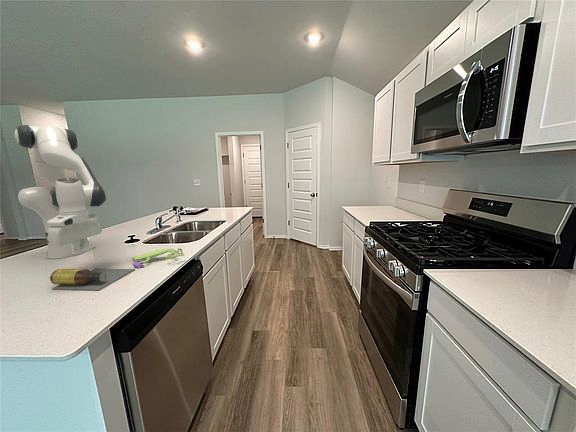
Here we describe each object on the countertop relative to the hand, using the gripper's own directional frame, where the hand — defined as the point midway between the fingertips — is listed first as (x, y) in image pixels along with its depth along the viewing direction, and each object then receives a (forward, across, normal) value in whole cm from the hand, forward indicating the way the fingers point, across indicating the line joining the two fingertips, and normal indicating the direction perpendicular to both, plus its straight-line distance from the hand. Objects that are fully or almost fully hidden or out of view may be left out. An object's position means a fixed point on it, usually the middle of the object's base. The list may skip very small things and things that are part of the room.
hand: (80, 249), depth 102 cm
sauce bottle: (+9, +6, -6) cm, 13 cm away
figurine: (+14, -23, +20) cm, 33 cm away
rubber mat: (+13, 0, +6) cm, 14 cm away
